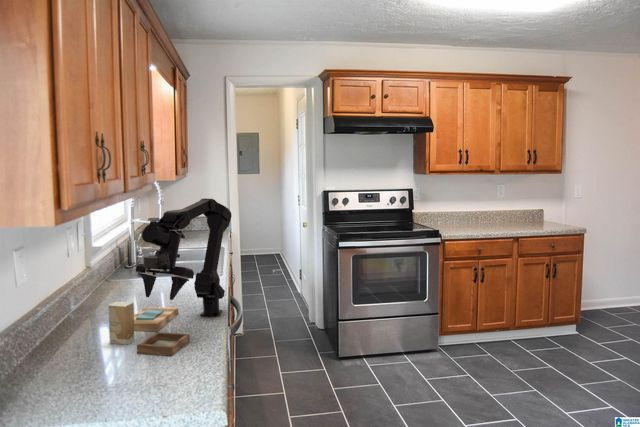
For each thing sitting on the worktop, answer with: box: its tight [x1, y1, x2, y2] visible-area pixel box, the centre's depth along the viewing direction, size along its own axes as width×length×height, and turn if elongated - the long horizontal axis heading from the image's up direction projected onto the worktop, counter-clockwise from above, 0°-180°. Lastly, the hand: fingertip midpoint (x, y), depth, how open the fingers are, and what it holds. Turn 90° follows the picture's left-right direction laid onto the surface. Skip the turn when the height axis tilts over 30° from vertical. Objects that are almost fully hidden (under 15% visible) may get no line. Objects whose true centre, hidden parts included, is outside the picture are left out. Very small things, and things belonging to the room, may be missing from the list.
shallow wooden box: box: [134, 306, 179, 332], centre depth 177 cm, size 18×12×3 cm, turn 174°
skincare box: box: [108, 301, 136, 345], centre depth 158 cm, size 6×4×12 cm
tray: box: [136, 331, 191, 357], centre depth 153 cm, size 11×11×2 cm
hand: (159, 298), depth 159 cm, fingers open, 9 cm apart
